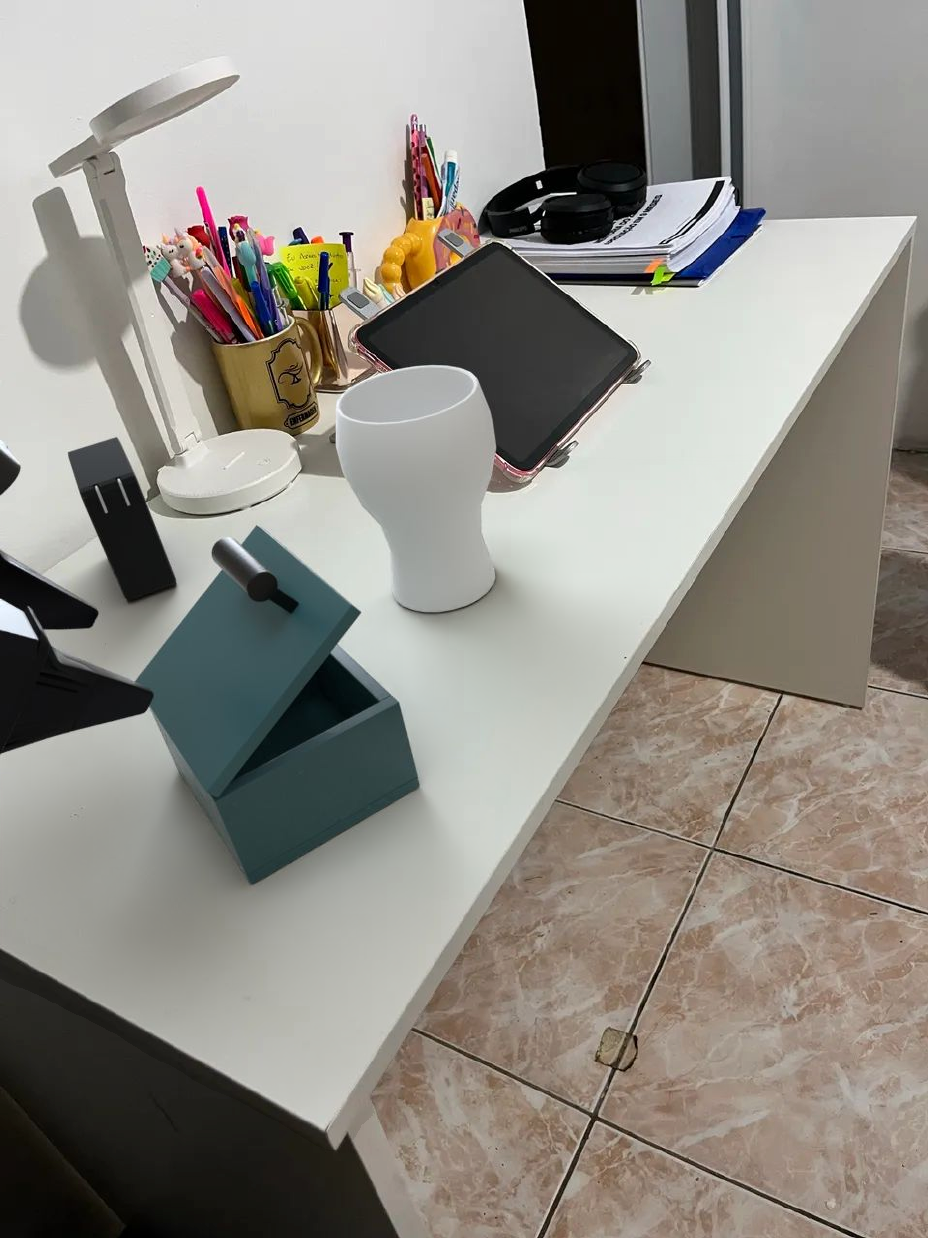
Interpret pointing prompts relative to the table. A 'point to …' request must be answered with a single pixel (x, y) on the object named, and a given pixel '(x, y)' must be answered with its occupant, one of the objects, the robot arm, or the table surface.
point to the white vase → (423, 478)
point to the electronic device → (121, 518)
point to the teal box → (311, 770)
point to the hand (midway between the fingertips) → (120, 657)
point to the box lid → (243, 654)
